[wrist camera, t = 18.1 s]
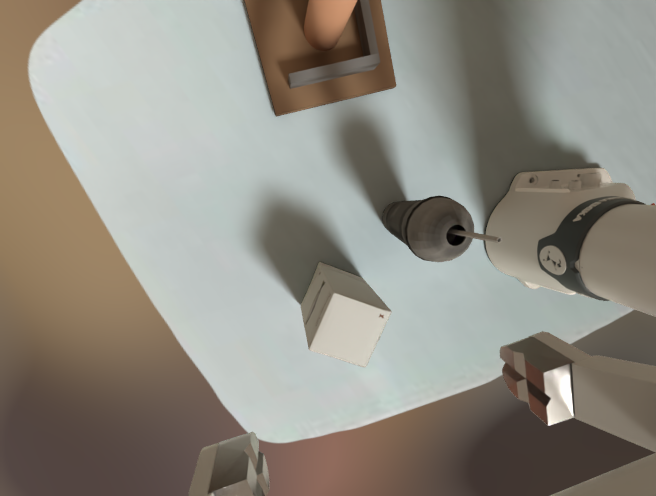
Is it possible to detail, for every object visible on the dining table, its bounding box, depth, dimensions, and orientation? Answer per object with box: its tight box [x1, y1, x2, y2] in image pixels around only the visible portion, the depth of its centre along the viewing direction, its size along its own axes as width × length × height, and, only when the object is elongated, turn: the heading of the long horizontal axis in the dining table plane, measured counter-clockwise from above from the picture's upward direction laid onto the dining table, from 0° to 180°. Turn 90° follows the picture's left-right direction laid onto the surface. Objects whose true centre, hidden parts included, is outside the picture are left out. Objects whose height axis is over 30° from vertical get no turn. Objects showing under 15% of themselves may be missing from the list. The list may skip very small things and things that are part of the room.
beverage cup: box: [382, 196, 502, 262], centre depth 36 cm, size 7×7×20 cm
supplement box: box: [301, 262, 392, 367], centre depth 40 cm, size 7×7×13 cm
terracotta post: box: [304, 0, 357, 51], centre depth 32 cm, size 4×4×12 cm
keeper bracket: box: [244, 0, 396, 116], centre depth 37 cm, size 16×16×4 cm
